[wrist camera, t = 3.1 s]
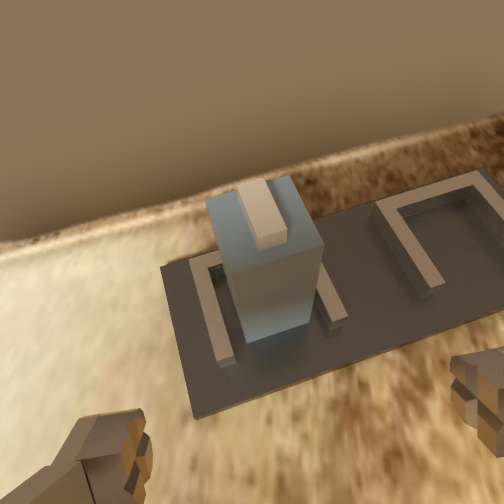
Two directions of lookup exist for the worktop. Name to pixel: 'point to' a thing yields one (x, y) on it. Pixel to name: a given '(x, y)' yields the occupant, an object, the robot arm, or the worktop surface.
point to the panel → (349, 292)
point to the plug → (267, 254)
